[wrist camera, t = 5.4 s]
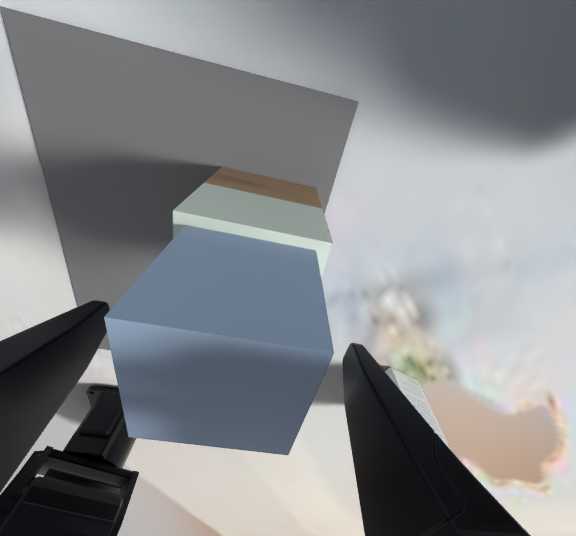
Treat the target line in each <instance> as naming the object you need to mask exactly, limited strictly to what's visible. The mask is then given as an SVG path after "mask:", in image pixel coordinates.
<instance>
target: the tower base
mask: <svg viewBox="0 0 576 536" xmlns="http://www.w3.org/2000/svg"><path fill="white" fill-rule="evenodd" d="M204 183H208V184H212V185H217V186H222V187H226V188H231V189H235V190H240V191H244V192H249V193H254V194H258V195H263V196H267V197H272V198H276V199H281V200H285V201H290V202H295V203H299V204H304V205H308V206H313V207H317V208H322V205H321V202H320V199H319V196H318V192H317V189H316V188H315V187H310V186H306V185H302V184H297V183H293V182H288V181H284V180H279V179H275V178H271V177H266V176H262V175H257V174H253V173H249V172H244V171H240V170H235V169H231V168H227V167H221V168H220V169H219V170H218V171H217V172H216V173H215V174H213V175H212V176H211V177H210V178H209V179H208V180H207V181H206V182H204Z"/></svg>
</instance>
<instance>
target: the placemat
mask: <svg viewBox="0 0 576 536" xmlns="http://www.w3.org/2000/svg"><path fill="white" fill-rule="evenodd" d="M0 8H1V12H2V16H3V19H4V23H5V27H6V31H7V35H8V39H9V42H10V46H11V50H12V54H13V58H14V62H15V66H16V69H17V73H18V77H19V81H20V85H21V89H22V93H23V96H24V100H25V104H26V108H27V112H28V116H29V120H30V123H31V127H32V131H33V135H34V139H35V143H36V147H37V150H38V154H39V158H40V162H41V166H42V170H43V173H44V177H45V181H46V185H47V189H48V193H49V197H50V200H51V204H52V208H53V212H54V216H55V220H56V224H57V227H58V231H59V235H60V239H61V243H62V247H63V251H64V254H65V258H66V262H67V266H68V270H69V274H70V278H71V281H72V285H73V289H74V293H75V297H76V301H77V304H78V307H79V306H81V305H83V304H86V303H88V302H90V301H93V300H97V301H103V302H107V303H108V304H109V309H110V310H111V309H112V308H113V306H114V305H115V304H116V303H117V302H118V301H119V300H120V299H121V297H122V296H123V295H124V294H125V293H126V292H127V291H128V289H129V288H130V287H131V286H132V285H133V284H134V283H135V282H136V280H137V279H138V278H139V277H140V276H141V275H142V274H143V273H144V271H145V270H146V269H147V268H148V267H149V266H150V265H151V263H152V262H153V261H154V260H155V259H156V258H157V257H158V256H159V254H160V253H161V252H162V251H163V250H164V249H165V248H166V246H167V245H168V244H169V243H170V242H171V241H172V240H173V210H174V209H175V208H176V207H177V206H178V205H180V204H181V203H182V202H183V201H184V200H185V199H186V198H187V197H189V196H190V195H191V194H192V193H193V192H194V191H195V190H197V189H198V188H199V187H200V186H201V185H202V184H203V183H204V182H206V181H207V180H208V179H209V178H210V177H211V176H212V175H213V174H215V173H216V172H217V171H218V170H219V169H220V168H221V167H227V168H231V169H235V170H240V171H244V172H249V173H253V174H257V175H262V176H266V177H271V178H275V179H279V180H284V181H288V182H293V183H297V184H302V185H306V186H310V187H315V188H316V189H317V192H318V196H319V199H320V202H321V205H322V209H323V212H324V213H325V210H326V206H327V203H328V200H329V197H330V193H331V190H332V187H333V183H334V180H335V177H336V174H337V170H338V167H339V164H340V160H341V157H342V154H343V151H344V147H345V144H346V141H347V137H348V134H349V131H350V128H351V124H352V121H353V118H354V114H355V111H356V108H357V105H358V101H354V100H350V99H346V98H343V97H339V96H335V95H331V94H327V93H324V92H320V91H316V90H312V89H309V88H305V87H301V86H297V85H294V84H290V83H286V82H282V81H279V80H275V79H271V78H267V77H264V76H260V75H256V74H252V73H249V72H245V71H241V70H237V69H234V68H230V67H226V66H222V65H219V64H215V63H211V62H207V61H204V60H200V59H196V58H192V57H189V56H185V55H181V54H177V53H174V52H170V51H166V50H162V49H159V48H155V47H151V46H147V45H144V44H140V43H136V42H132V41H129V40H125V39H121V38H117V37H114V36H110V35H106V34H102V33H99V32H95V31H91V30H87V29H83V28H80V27H76V26H72V25H68V24H65V23H61V22H57V21H53V20H50V19H46V18H42V17H38V16H35V15H31V14H27V13H23V12H20V11H16V10H12V9H8V8H5V7H1V6H0ZM99 348H100V349H107V350H111V348H110V344H109V339H108V334H107V333H106V335H105V337H104V338H103V340H102V342H101V344H100V346H99Z"/></svg>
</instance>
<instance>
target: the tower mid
mask: <svg viewBox="0 0 576 536" xmlns="http://www.w3.org/2000/svg"><path fill="white" fill-rule="evenodd" d="M185 225H189V226H194V227H199V228H204V229H209V230H215V231H220V232H225V233H230V234H235V235H240V236H245V237H250V238H255V239H260V240H266V241H271V242H276V243H281V244H286V245H291V246H296V247H301V248H306V249H311V250H316V252H317V258H318V264H319V269H320V275H321V277H322V274H323V271H324V268H325V265H326V262H327V259H328V256H329V253H330V251H331V248H332V245H333V242H332V239H331V235H330V232H329V229H328V225H327V222H326V219H325V215H324V212H323V209H322V208H317V207H313V206H308V205H304V204H299V203H295V202H290V201H285V200H281V199H276V198H272V197H267V196H263V195H258V194H254V193H249V192H244V191H240V190H235V189H231V188H226V187H222V186H217V185H212V184H208V183H203V184H202V185H201V186H200V187H199V188H198V189H197V190H195V191H194V192H193V193H192V194H191V195H190V196H189V197H187V198H186V199H185V200H184V201H183V202H182V203H181V204H180V205H178V206H177V207H176V208H175V209H174V210H173V239H174V237H175V236H176V235H177V234H178V233H179V232H180V231H181V230H182V228H183V227H184V226H185Z"/></svg>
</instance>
